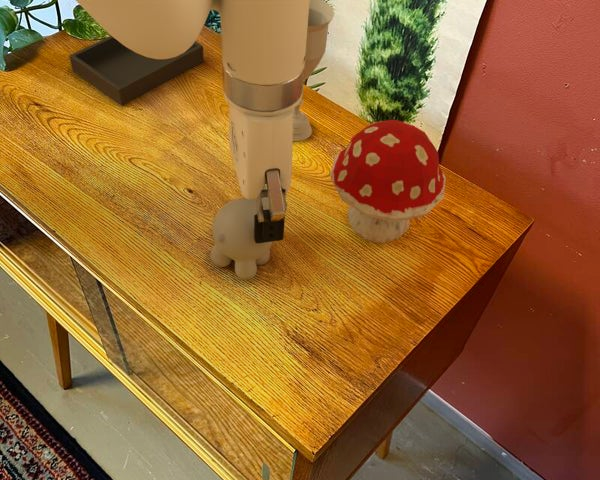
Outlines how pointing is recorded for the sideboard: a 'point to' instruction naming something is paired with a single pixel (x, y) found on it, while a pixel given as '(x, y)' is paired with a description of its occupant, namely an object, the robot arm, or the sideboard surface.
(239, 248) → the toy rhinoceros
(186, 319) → the sideboard surface
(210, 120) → the sideboard surface
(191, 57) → the tray
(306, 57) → the chalice
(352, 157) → the decorative mushroom
